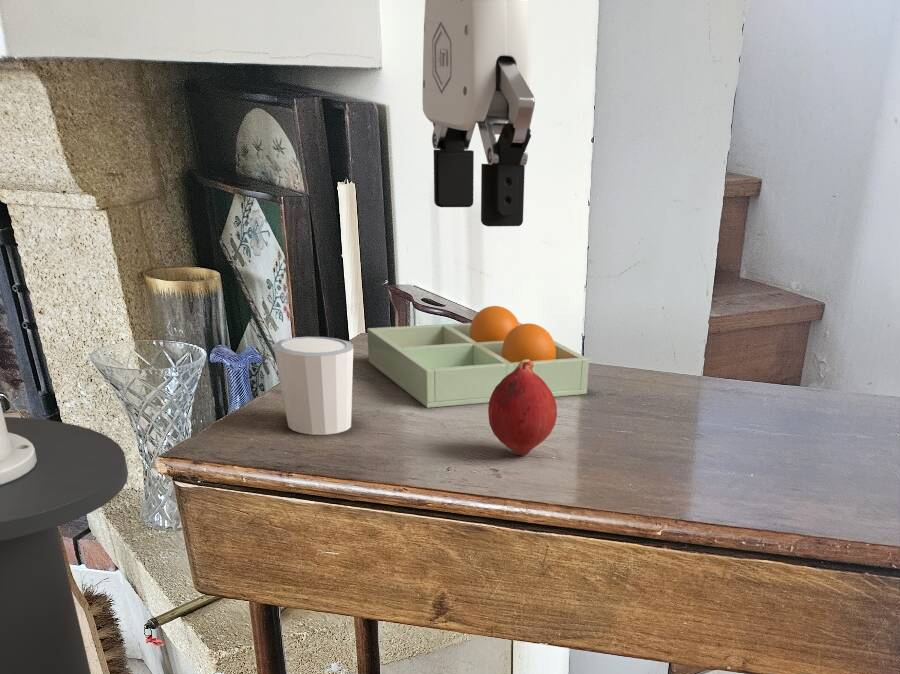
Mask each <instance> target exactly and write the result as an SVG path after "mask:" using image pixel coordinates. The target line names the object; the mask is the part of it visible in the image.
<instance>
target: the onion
mask: <svg viewBox="0 0 900 674" xmlns="http://www.w3.org/2000/svg"><path fill="white" fill-rule="evenodd" d="M533 366H534V364H533V363H532V362H531V361H530V360H529V359H527V360H522V361H521V362H520V363H519V364H518V366H517V367H516V369H515V370H514V371H513V372H512V373H510V374H508V375H507V376H506V377H504V378H503V379H502V381H501V382H500V383H499V384H498V385H497V386H496V387H495V389H494V391H493V392H492V395H491V398H490V400H489V403H488V408H487V413H488V414H487V415H488V422H489V426H490V428H491V431H492V433H493V434H494V436H495V437H496V438H497V440H499V442H501V443H502V444H503V445H504V446H505V447H506V448H508V450H509V449H510V451H512V452H513V453H514V454H516V455H518V456H527V455H528V454H529V453H530V452H531V451H532V450H533V449H534V448H536V447H538V446H539V445H540V444H542V442H544V441H545V440H546V439H547V438H548V437H549V436H550V434H551V433H552V431H553V429H554V428H555V426H556V423H557V417H558V407H557V406H558V405H557V402H556V397H554V396H553V394H552V392H551V390H550V389H549V387H548V386H547V385H546V383H545V382H544V381H543V380H542V379H541V378H540V377H539V376H538V375H536V374H535V373H534V372H533V370H532V368H533Z"/></svg>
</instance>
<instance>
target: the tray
mask: <svg viewBox="0 0 900 674" xmlns="http://www.w3.org/2000/svg"><path fill="white" fill-rule="evenodd" d="M471 323H472V322H463V323H461V322H460V323H448V324H447V323H443V324H427V325H426V324H424V325H423V324H421V325H405V326H387V327H385V326H383V327H368V328H367V330H366V331H367V332H366V333H367V352H368V363H369V364H371V365H372V366H373V367H375V368H376V369H377V370H379V371H380V373H382V374H384V375H385V376H386V377H387V378H388V379H390V380H391V381H392V382H394V383H395V384H396V385H398V386H399V387H400V388H401V389H403V390H404V391H405V392H406V393H408V394H409V395H410V396H412V397H413V398H414V399H415V400H417V401H418V402H419V403H420V404H422V405H423V406H424V407H425V408H427V409H432V408H441V407H442V408H443V407H454V406H455V407H456V406H466V405H474V404H475V405H478V404H487V403H488V404H489V400H490V398H491V395H492V392H493V391H494V389H495V387H496V386H497V385H498V384H499V383H500V382H501V381H502V379H503V378H504V377H506V376H507V375H508V374H510V373H512V372H513V371H514V370H515V369H516V367H517V366H518V364H519V363H520V362H513V363H511V362H509V361H507V360H506V359H504V358H502V346H503V342H504V341H491V342H476V341H474V340H473V339H471V338H470V327H471ZM519 324H520V325H521V324H522V323H521V322H519ZM553 341H554V343H555V348H556V358H555V360H541V361H531V362H532V363H533V364H534V366H533V368H532V370H533V372H534V373H535V374H536V375H538V376H539V377H540V378H541V379H542V380H543V381H544V382H545V383H546V385H547V386H548V387H549V389H550V390H551V392H552V394H553V396H554V398H557V397H567V396H568V397H569V396H578V395H587V393H588V380H589V367H590V358H588V357H585V356H584V355H582V354H580V353H578V352H576V351H575V350H573V349H571V348H569V347H567V346H565V345H563V344H561V343H559V342H557V341H555V340H554V339H553Z"/></svg>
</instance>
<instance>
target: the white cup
mask: <svg viewBox="0 0 900 674" xmlns="http://www.w3.org/2000/svg"><path fill="white" fill-rule="evenodd" d="M273 353H274V357H275V362H276V366H277V373H278V378H279V383H280V389H281V394H282V400H283V404H284V405H283V406H284V411H285V416H286V422H287V427H288V428H289V429H290V430H292V431H293V432H296V433H300V434H303V435H312V436H313V435H314V436H315V435H317V436H327V435H335V434H340V433H343V432H346V431H349V429H350V428H352V411H353V410H352V409H353V407H352V406H353V375H354V374H353V373H354V344H353V343H351V342H350V341H348V340H345V339H340V338H335V337H327V336H296V337H290V338H289V337H288V338H285V339H280V340H279V341H276V342H275V343H274V344H273Z"/></svg>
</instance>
